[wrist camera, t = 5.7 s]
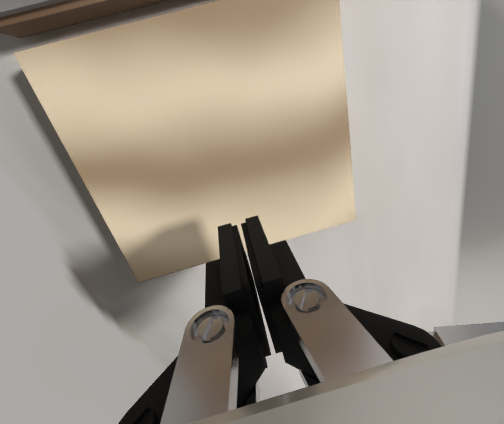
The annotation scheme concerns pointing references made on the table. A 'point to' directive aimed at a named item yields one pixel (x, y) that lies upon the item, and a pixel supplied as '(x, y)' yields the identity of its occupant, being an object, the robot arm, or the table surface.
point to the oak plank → (205, 125)
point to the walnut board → (57, 13)
